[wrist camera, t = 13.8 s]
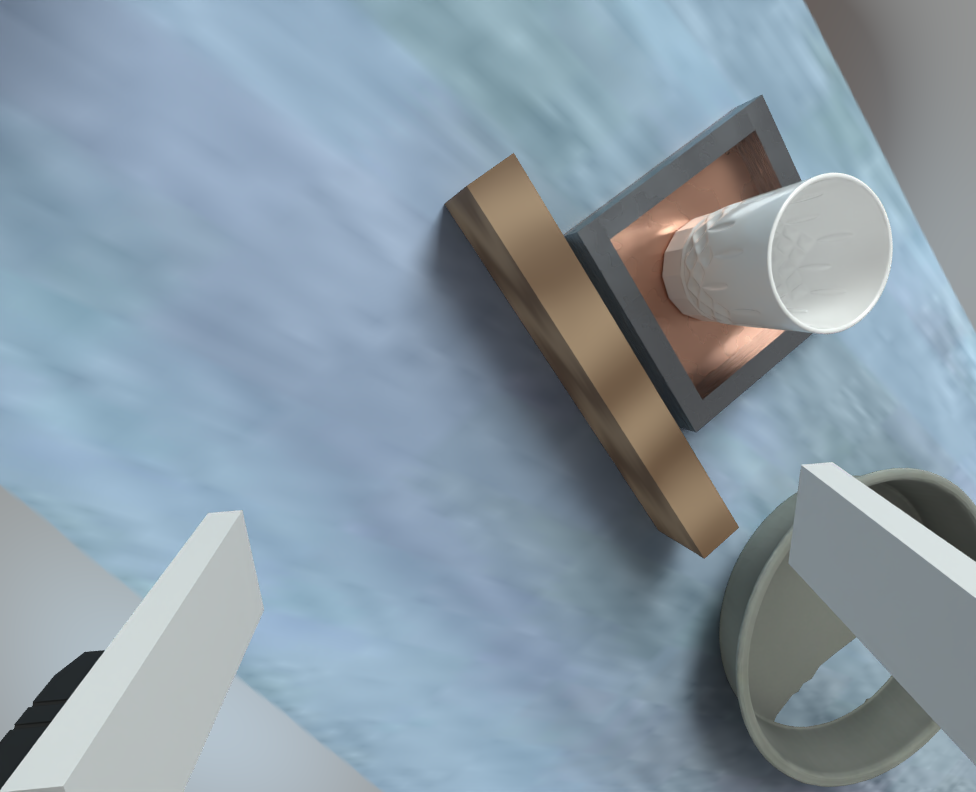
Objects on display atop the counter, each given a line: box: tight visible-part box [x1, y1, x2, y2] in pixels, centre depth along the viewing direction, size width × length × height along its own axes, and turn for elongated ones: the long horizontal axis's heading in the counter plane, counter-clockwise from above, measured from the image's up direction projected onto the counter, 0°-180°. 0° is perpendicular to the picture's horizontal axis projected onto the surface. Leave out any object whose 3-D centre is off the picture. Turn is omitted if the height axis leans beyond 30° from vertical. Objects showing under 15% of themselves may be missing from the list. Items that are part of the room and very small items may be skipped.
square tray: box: [563, 95, 812, 432], centre depth 38 cm, size 15×15×2 cm
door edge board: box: [445, 153, 739, 558], centre depth 35 cm, size 26×3×5 cm, turn 36°
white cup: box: [662, 173, 893, 334], centre depth 34 cm, size 8×8×10 cm
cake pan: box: [719, 468, 976, 787], centre depth 45 cm, size 25×25×4 cm
